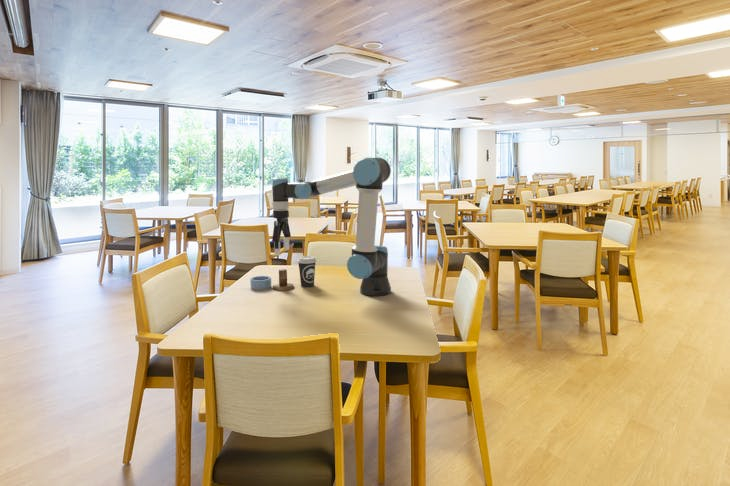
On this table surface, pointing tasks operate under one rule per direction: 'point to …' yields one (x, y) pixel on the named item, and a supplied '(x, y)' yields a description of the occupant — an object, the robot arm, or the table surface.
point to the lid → (283, 282)
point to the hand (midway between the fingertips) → (282, 252)
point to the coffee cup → (307, 270)
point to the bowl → (260, 282)
